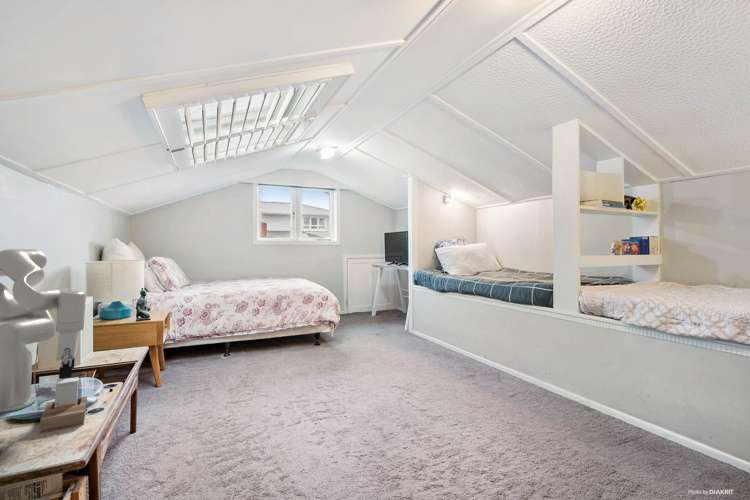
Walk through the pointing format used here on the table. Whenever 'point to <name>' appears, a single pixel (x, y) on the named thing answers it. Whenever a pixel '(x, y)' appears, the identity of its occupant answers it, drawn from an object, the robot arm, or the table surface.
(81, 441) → the table surface
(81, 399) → the walnut stand
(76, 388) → the skincare box
